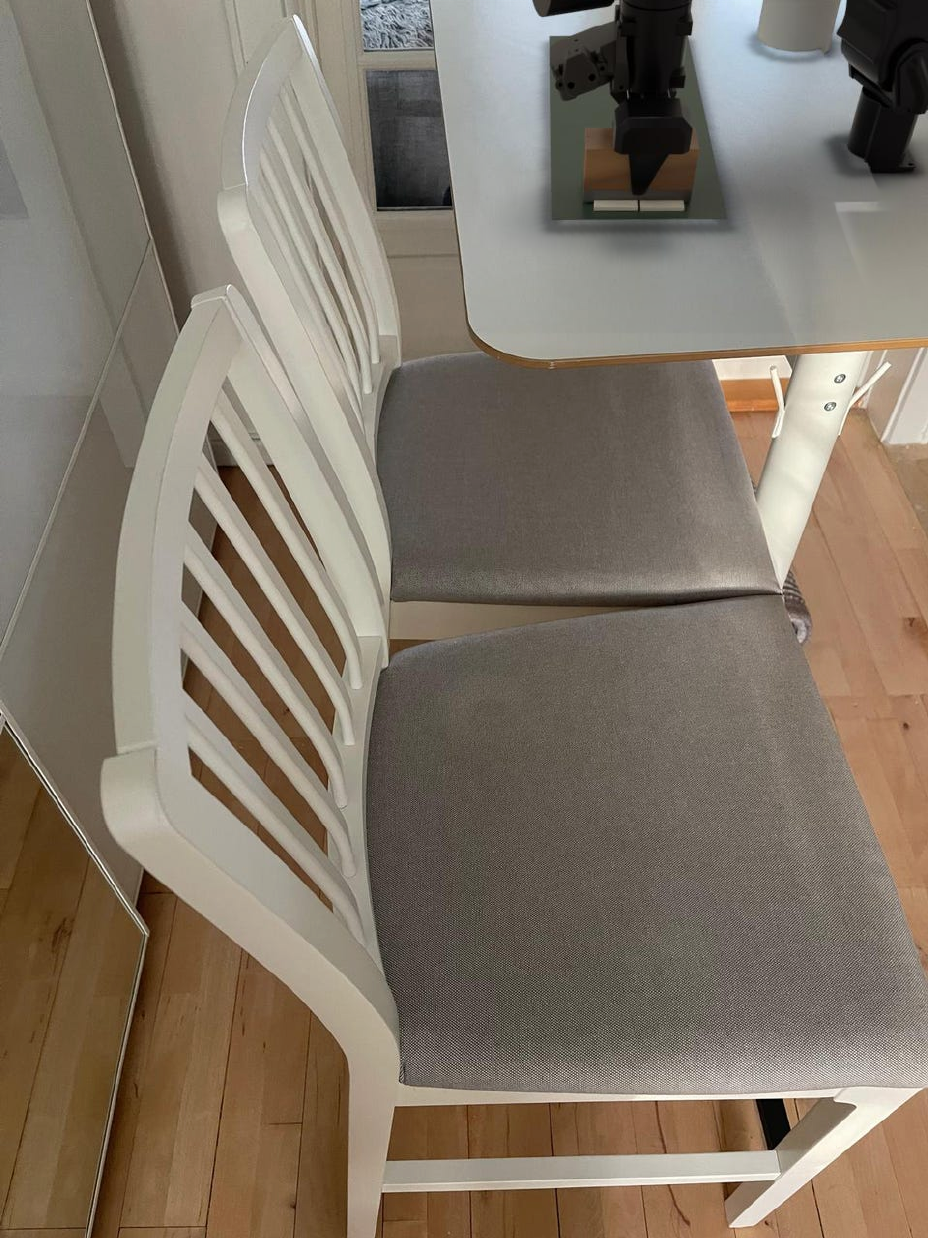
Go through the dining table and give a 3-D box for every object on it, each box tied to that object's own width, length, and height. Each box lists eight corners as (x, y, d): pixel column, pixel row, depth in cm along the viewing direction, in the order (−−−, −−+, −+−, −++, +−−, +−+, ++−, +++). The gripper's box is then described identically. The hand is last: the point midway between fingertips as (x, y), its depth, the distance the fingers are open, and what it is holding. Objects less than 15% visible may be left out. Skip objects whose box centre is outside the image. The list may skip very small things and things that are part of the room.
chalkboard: (725, 228, 90) (727, 218, 89) (550, 229, 91) (551, 219, 90) (686, 42, 115) (687, 33, 114) (549, 44, 116) (549, 35, 115)
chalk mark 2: (683, 210, 91) (684, 206, 90) (640, 211, 91) (640, 206, 90) (682, 203, 91) (683, 199, 91) (639, 204, 92) (639, 200, 91)
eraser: (690, 202, 91) (699, 149, 87) (582, 202, 92) (586, 149, 88) (687, 180, 94) (695, 127, 90) (581, 179, 94) (585, 127, 90)
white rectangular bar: (637, 210, 91) (638, 206, 90) (594, 210, 91) (594, 206, 91) (637, 203, 91) (637, 199, 91) (593, 204, 92) (594, 199, 91)
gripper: (557, -46, 86) (550, 134, 98) (557, 47, 74) (550, 236, 87) (685, -48, 85) (662, 133, 97) (706, 45, 74) (677, 237, 86)
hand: (636, 181), depth 92 cm, fingers closed on eraser, 4 cm apart
